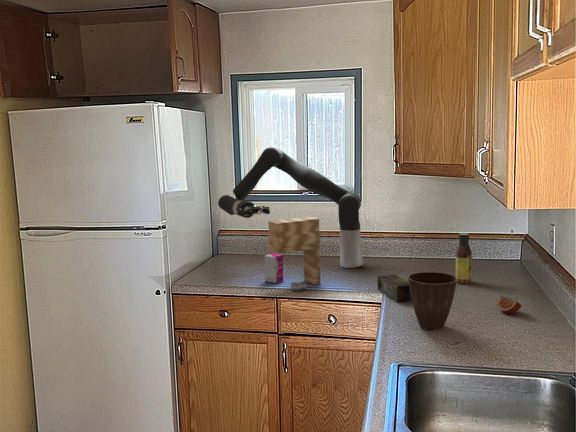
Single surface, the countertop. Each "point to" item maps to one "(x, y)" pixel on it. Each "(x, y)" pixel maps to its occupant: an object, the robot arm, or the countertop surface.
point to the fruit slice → (508, 305)
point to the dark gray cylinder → (298, 287)
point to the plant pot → (432, 297)
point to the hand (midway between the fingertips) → (260, 212)
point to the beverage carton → (394, 287)
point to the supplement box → (273, 268)
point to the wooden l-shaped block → (298, 242)
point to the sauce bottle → (463, 260)
